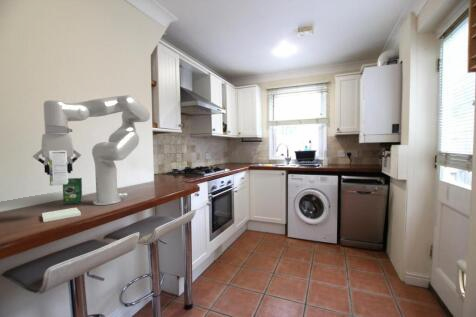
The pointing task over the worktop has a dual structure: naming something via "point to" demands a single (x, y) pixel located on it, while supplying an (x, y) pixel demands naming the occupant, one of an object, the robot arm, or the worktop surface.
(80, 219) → the worktop surface
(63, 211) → the sage board
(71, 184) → the coffee box
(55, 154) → the syrup box
